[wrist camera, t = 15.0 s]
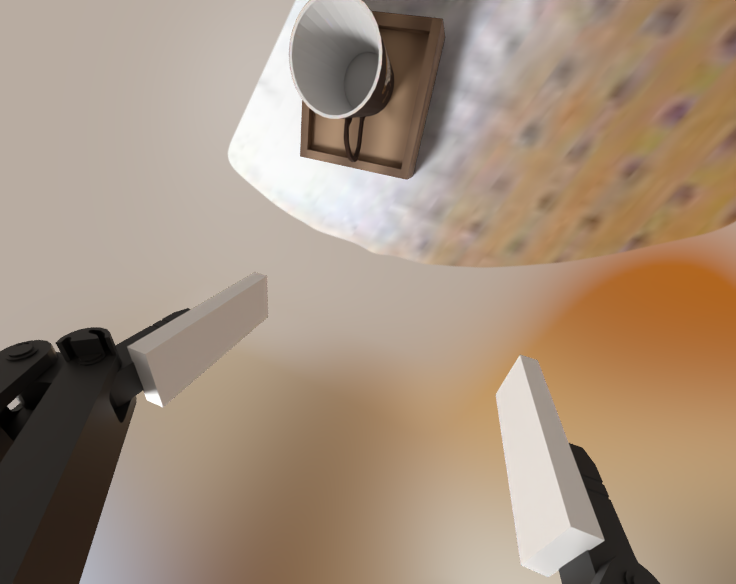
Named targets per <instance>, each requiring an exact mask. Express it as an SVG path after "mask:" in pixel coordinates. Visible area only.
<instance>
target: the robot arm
mask: <svg viewBox="0 0 736 584" xmlns="http://www.w3.org/2000/svg"><path fill="white" fill-rule="evenodd" d="M267 317H268V297H267V276H266V275H263V274H259V273H256V272H254V273H252V274H250V275H249V276H247V277H245V278H244V279H242V280H240V281H239V282H237V283H235V284H233V285H232V286H230V287H228V288H227V289H225V290H223V291H221V292H220V293H218V294H216V295H215V296H213V297H211V298H210V299H208V300H206V301H204V302H203V303H201V304H199V305H198V306H196V307H194V308H193V309H189V308H187V309H184V310H181V311H178V312H174V313H172V314H171V315H169V316H167V317H165V318H163V319H162V321H158V322H156V323H155V324H153V326H149V327H148V328H146V329H144V330H142V331H140V332H139V333H137V334H135V335H133V336H132V337H130V338H128V339H126V340H124V341H123V342H121V343H119V344H117V345H115V344H114V341H113V339H112V337H111V334H110V332H109V331H108V330H107V329H103V328H86V329H81V330H77V331H74V332H71V333H69V334H67V335H65V336H63V337H62V338H60V339H59V340H58V341H57V342H56V344H57V346H58V348H59V350H60V352H55V350H54V348H53V346H52V345H51V343H49V342H48V341H43V340H34V341H27V342H22V343H18V344H16V345H13V346H10V347H8V348H6V349H4V350H2V351H0V584H79V582H80V578H81V576H82V573H83V569H84V566H85V563H86V560H87V556H88V553H89V550H90V547H91V544H92V541H93V538H94V535H95V531H96V528H97V525H98V522H99V519H100V516H101V513H102V509H103V506H104V503H105V500H106V497H107V494H108V490H109V487H110V484H111V481H112V478H113V475H114V472H115V468H116V465H117V462H118V459H119V456H120V453H121V449H122V446H123V443H124V440H125V437H126V434H127V431H128V427H129V424H130V421H131V418H132V415H133V412H134V408H135V405H136V395H137V394H139V393H140V392H141V391H142V390H143V391H144V393H145V396H146V399H147V400H148V401H150V402H152V403H155V404H157V405H159V406H161V407H164V406H165V405H166V404H168V403H169V402H170V401H171V400H172V399H173V398H175V397H176V396H177V395H178V394H179V393H180V392H182V391H183V390H184V389H185V388H186V387H187V386H188V385H190V384H191V383H192V382H193V381H194V380H195V379H197V378H198V377H199V376H200V375H201V374H202V373H204V372H205V371H206V370H207V369H208V368H209V367H210V366H212V365H213V364H214V363H215V362H216V361H217V360H219V359H220V358H221V357H222V356H223V355H224V354H226V353H227V352H228V351H229V350H230V349H231V348H232V347H233V346H235V345H236V344H237V343H238V342H240V341H241V340H242V339H243V338H244V337H245V336H247V335H248V334H249V333H250V332H251V331H252V330H253V329H254V328H256V327H257V326H258V325H259V324H260V323H262V322H263V321H264V320H265V319H266V318H267ZM15 398H17V400H18V401H19V402H20V404H19V405H17V406H16V407H15V408H14V409H12V410H10V409H9V408H8V407H7V405H8V404H9V403H11V402H12V401H13V400H14V399H15ZM496 400H497V407H498V413H499V420H500V427H501V434H502V441H503V447H504V454H505V461H506V468H507V474H508V481H509V488H510V495H511V502H512V508H513V515H514V522H515V529H516V535H517V542H518V548H519V556H520V563H521V566H524V567H526V568H528V569H530V570H533V571H535V572H537V573H539V574H542V575H544V576H546V577H549V576H551V575H552V574H554V573H555V572H557V571H559V572H560V577H561V581H562V584H660V583H659V582H658V581H657V579H656V578H655V577H654V576H653V575H652V574H651V573H650V572H649V571H648V570H647V569H645V568H644V567H643V566H642V565H640V564H639V563H638V561H637V560H636V558H635V556H634V553H633V551H632V549H631V546H630V544H629V542H628V539H627V537H626V535H625V532H624V530H623V528H622V525H621V523H620V521H619V518H618V516H617V514H616V512H615V509H614V507H613V505H612V502H611V500H609V498H608V497H609V495H608V493H607V491H606V488H605V486H604V485H603V484H602V482H603V481H602V479H601V477H600V475H599V472H598V470H597V467H596V465H595V464H594V462H593V461H592V460H591V458H590V457H589V456H588V455H587V453H586V452H585V450H584V449H583V448H582V447H579V446H576V445H573V444H570V443H568V440H567V438H566V435H565V432H564V430H563V427H562V424H561V421H560V419H559V416H558V413H557V411H556V408H555V405H554V403H553V400H552V397H551V395H550V392H549V390H548V387H547V384H546V381H545V379H544V376H543V373H542V370H541V368H540V365H539V362H538V360H535V359H532V358H529V357H526V356H523V355H520V356H519V357H518V359H517V361H516V362H515V364H514V365H513V367H512V369H511V371H510V372H509V374H508V375H507V377H506V379H505V380H504V382H503V384H502V385H501V387H500V389H499V390H498V392H497V394H496Z"/></svg>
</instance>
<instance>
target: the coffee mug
mask: <svg viewBox="0 0 736 584" xmlns="http://www.w3.org/2000/svg"><path fill="white" fill-rule="evenodd" d="M289 62H290V70H291V75H292V79H293V82H294V85H295V87H296V90H297V92H298V93H299V95H300V97H301V99H302V100H303V101H304V102H305V104H306V105H307V106H308V107H309V108H310V109H311V110H312V111H314V112H315V113H317V114H319V115H320V116H322V117H326V118H330V119H344V118H345V124H344V145H345V150H346V154H347V157H348V159H349V161H351V162H356V161H357V160H358V157H359V154H360V149H361V143H362V134H363V125H364V120H365V117H367V116H373V115H375V114H377V113H379V112H380V111H382V110H383V109H384V108H385V107H386V105H387V104H388V102H389V101H390V98H391V96H392V93H393V89H394V73H393V69H392V66H391V63H390V60H389V57H388V54H387V51H386V48H385V45H384V42H383V39H382V36H381V33H380V30H379V27H378V25H377V22H376V20H375V18H374V16H373V14H372V12H371V11H370V9H369V8H368V6H367V5H366V4H365V3H364V2H363V1H362V0H309V1H308V3H307V4H306V5H305V6H304V7H303V9H302V10H301V12H300V14H299V16H298V17H297V19H296V22H295V24H294V27H293V30H292V34H291V39H290V46H289ZM356 117H360V122H359V130H358V139H357V147H356V150H355V154H354V156H353V155H352V152H351V149H350V144H349V126H350V124H351V122H352V118H356Z"/></svg>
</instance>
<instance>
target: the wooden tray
mask: <svg viewBox="0 0 736 584" xmlns="http://www.w3.org/2000/svg"><path fill="white" fill-rule="evenodd" d="M371 12H372V14H373V16H374V18H375V20H376V22H377V25H378V27H379V30H380V33H381V36H382V39H383V42H384V45H385V48H386V51H387V54H388V57H389V60H390V63H391V66H392V69H393V73H394V89H393V93H392V96H391V98H390V101H389V102H388V104H387V105H386V107H385V108H384V109H383V110H382V111H380V112H379V113H377V114H375V115H373V116H367V117H365V120H364V125H363V134H362V143H361V149H360V154H359V157H358V160H357V161H356V162H351V161H349V159H348V157H347V154H346V150H345V145H344V124H345V118H344V119H330V118H326V117H322V116H320V115H319V114H317V113H315V112H314V111H312V110H311V109H310V108H309V107H308V106H307V105H306V104H305V102H304V101H303V100H302V121H301V149H300V156H301V157H306V158H310V159H315V160H320V161H324V162H329V163H333V164H338V165H342V166H347V167H352V168H356V169H361V170H365V171H370V172H375V173H379V174H384V175H388V176H393V177H397V178H402V179H409V178H411V177H413V173H414V169H415V165H416V160H417V156H418V152H419V147H420V143H421V139H422V134H423V130H424V126H425V121H426V117H427V113H428V109H429V104H430V100H431V96H432V91H433V87H434V83H435V78H436V74H437V70H438V65H439V61H440V57H441V53H442V48H443V44H444V40H445V32H444V25H443V19H440V18H431V17H421V16H412V15H403V14H394V13H385V12H376V11H371ZM359 122H360V117H356V118H352V122H351V124H350V126H349V144H350V149H351V152H352V155H353V156H354V154H355V150H356V147H357V139H358V130H359Z"/></svg>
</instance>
